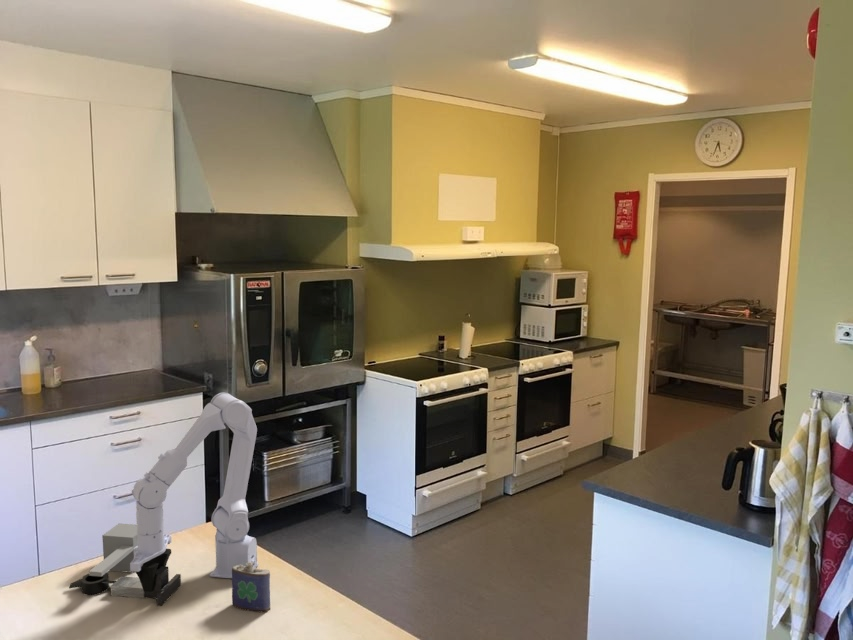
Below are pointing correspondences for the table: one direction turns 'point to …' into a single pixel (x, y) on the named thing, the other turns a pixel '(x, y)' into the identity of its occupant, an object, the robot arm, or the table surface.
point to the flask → (250, 588)
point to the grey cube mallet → (117, 549)
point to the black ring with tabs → (92, 584)
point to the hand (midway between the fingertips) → (153, 586)
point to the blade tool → (135, 590)
